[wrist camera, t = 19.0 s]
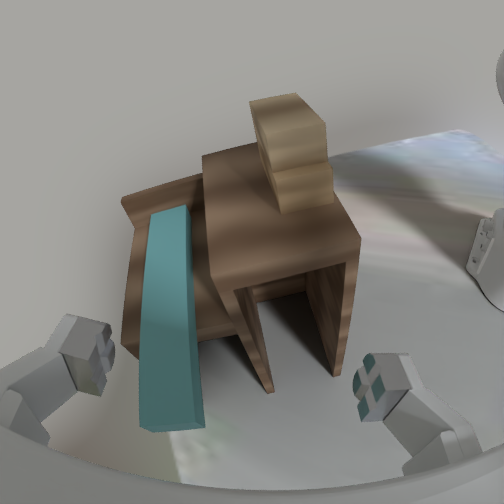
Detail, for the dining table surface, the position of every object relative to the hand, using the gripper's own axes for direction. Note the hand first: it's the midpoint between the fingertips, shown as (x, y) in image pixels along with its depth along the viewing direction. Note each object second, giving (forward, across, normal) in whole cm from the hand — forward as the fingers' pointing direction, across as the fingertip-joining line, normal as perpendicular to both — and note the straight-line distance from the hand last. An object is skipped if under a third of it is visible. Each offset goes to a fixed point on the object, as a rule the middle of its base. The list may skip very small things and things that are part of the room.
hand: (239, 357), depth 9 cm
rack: (+26, -5, +25) cm, 36 cm away
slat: (+14, +5, +10) cm, 18 cm away
